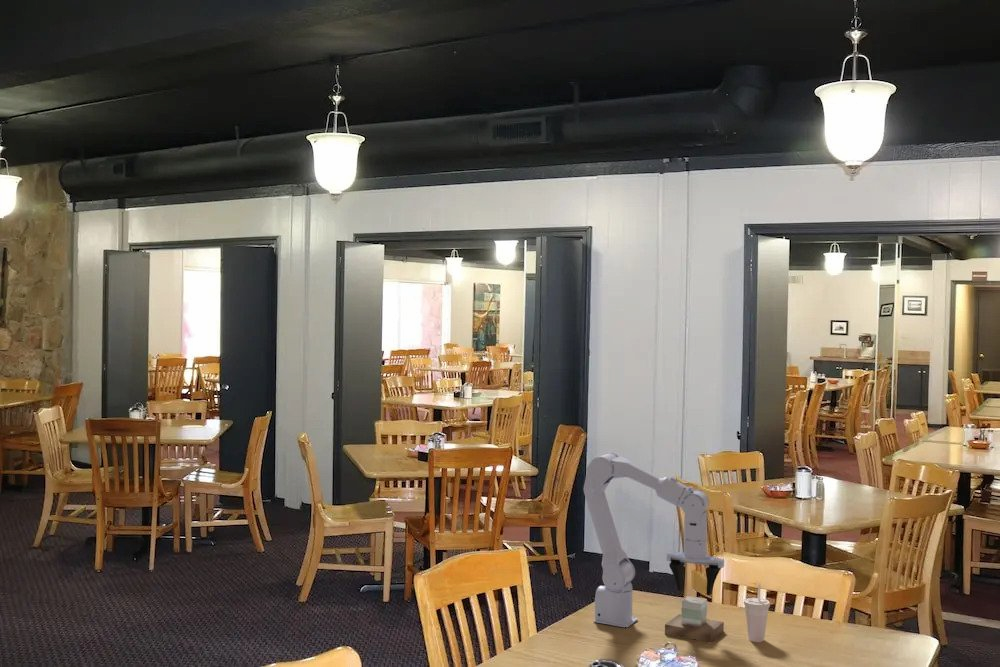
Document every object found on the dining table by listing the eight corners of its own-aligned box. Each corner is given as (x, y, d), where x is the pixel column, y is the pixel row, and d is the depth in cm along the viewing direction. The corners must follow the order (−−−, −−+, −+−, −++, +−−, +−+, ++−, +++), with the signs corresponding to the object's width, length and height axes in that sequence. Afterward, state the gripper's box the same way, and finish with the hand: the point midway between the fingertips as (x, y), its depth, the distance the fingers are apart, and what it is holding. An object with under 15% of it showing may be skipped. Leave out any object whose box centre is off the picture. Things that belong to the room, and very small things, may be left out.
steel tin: (681, 624, 246) (681, 600, 245) (687, 618, 250) (687, 595, 250) (701, 627, 243) (701, 604, 243) (706, 622, 248) (707, 598, 248)
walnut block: (664, 636, 246) (664, 624, 246) (678, 625, 254) (679, 614, 254) (710, 644, 240) (710, 632, 239) (723, 633, 248) (723, 622, 248)
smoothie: (770, 644, 238) (771, 588, 238) (743, 643, 239) (744, 586, 239) (768, 636, 244) (769, 581, 244) (742, 634, 246) (743, 579, 245)
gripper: (662, 538, 247) (662, 591, 247) (718, 545, 239) (717, 600, 240) (672, 533, 253) (671, 585, 253) (726, 540, 245) (726, 593, 246)
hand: (694, 592), depth 247 cm, fingers open, 7 cm apart
